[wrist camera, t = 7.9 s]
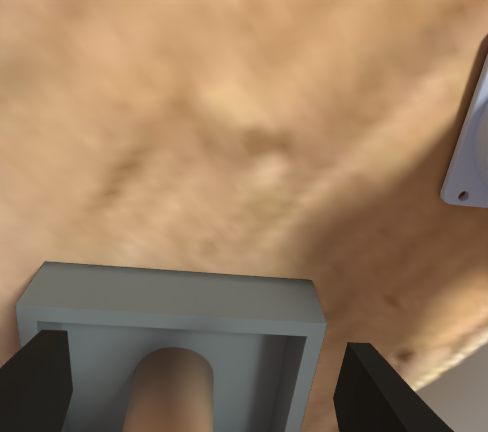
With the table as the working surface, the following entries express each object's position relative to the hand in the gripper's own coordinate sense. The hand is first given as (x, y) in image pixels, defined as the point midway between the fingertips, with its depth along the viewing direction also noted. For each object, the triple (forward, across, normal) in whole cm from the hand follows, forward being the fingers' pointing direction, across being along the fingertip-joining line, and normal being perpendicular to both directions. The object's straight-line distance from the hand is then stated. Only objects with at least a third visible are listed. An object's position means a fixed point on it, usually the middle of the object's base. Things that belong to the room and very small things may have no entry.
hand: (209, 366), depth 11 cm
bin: (+10, +2, +11) cm, 15 cm away
